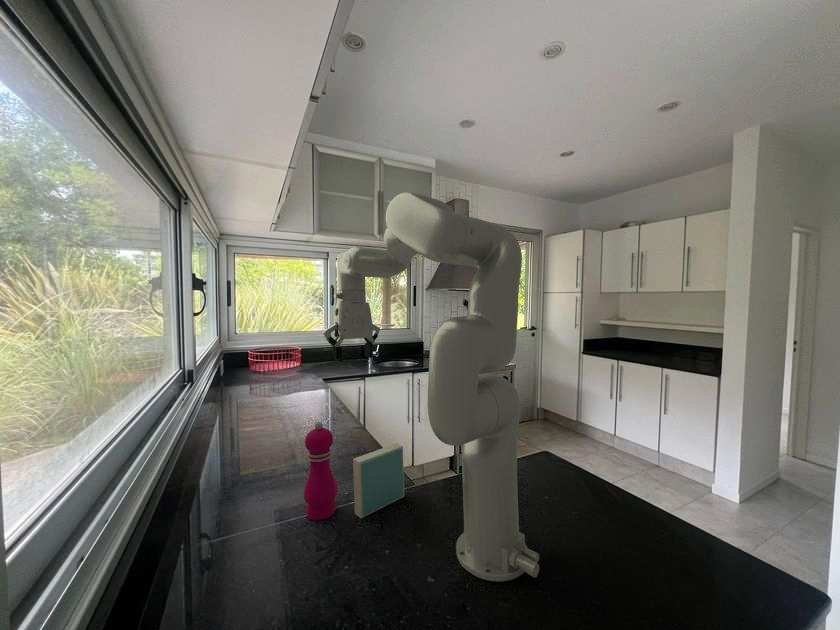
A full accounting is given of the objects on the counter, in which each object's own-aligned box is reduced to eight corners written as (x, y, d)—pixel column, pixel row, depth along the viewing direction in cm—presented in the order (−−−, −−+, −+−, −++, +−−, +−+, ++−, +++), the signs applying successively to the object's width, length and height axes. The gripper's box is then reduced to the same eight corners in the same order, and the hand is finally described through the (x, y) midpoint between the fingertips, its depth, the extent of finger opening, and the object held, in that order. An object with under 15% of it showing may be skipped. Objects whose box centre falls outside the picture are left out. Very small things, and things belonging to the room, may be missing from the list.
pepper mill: (296, 516, 72) (293, 424, 72) (321, 499, 78) (318, 415, 78) (321, 525, 68) (318, 429, 68) (345, 507, 75) (342, 418, 75)
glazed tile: (405, 497, 78) (403, 446, 78) (361, 519, 70) (359, 462, 70) (397, 492, 80) (396, 443, 80) (354, 513, 72) (352, 458, 72)
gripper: (329, 296, 83) (331, 364, 83) (385, 297, 95) (387, 357, 95) (316, 298, 89) (318, 361, 89) (370, 298, 101) (372, 355, 101)
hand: (354, 359), depth 92 cm, fingers open, 9 cm apart
